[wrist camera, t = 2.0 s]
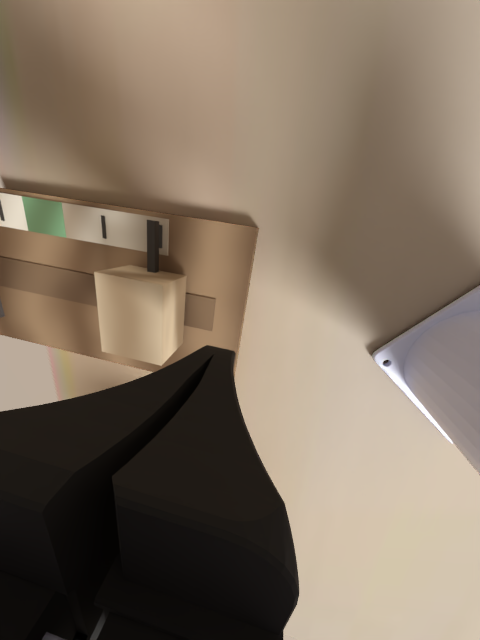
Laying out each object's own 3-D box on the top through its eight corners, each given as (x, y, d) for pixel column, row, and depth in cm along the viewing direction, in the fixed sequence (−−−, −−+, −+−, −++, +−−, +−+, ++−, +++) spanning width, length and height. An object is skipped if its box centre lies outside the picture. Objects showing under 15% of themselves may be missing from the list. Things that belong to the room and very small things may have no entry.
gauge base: (258, 228, 14) (246, 223, 9) (233, 383, 18) (216, 431, 14) (-55, 179, 17) (-182, 158, 12) (-11, 324, 21) (-93, 348, 17)
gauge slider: (189, 226, 13) (163, 223, 11) (182, 343, 16) (161, 365, 14) (128, 216, 14) (88, 211, 11) (132, 331, 17) (102, 351, 14)
